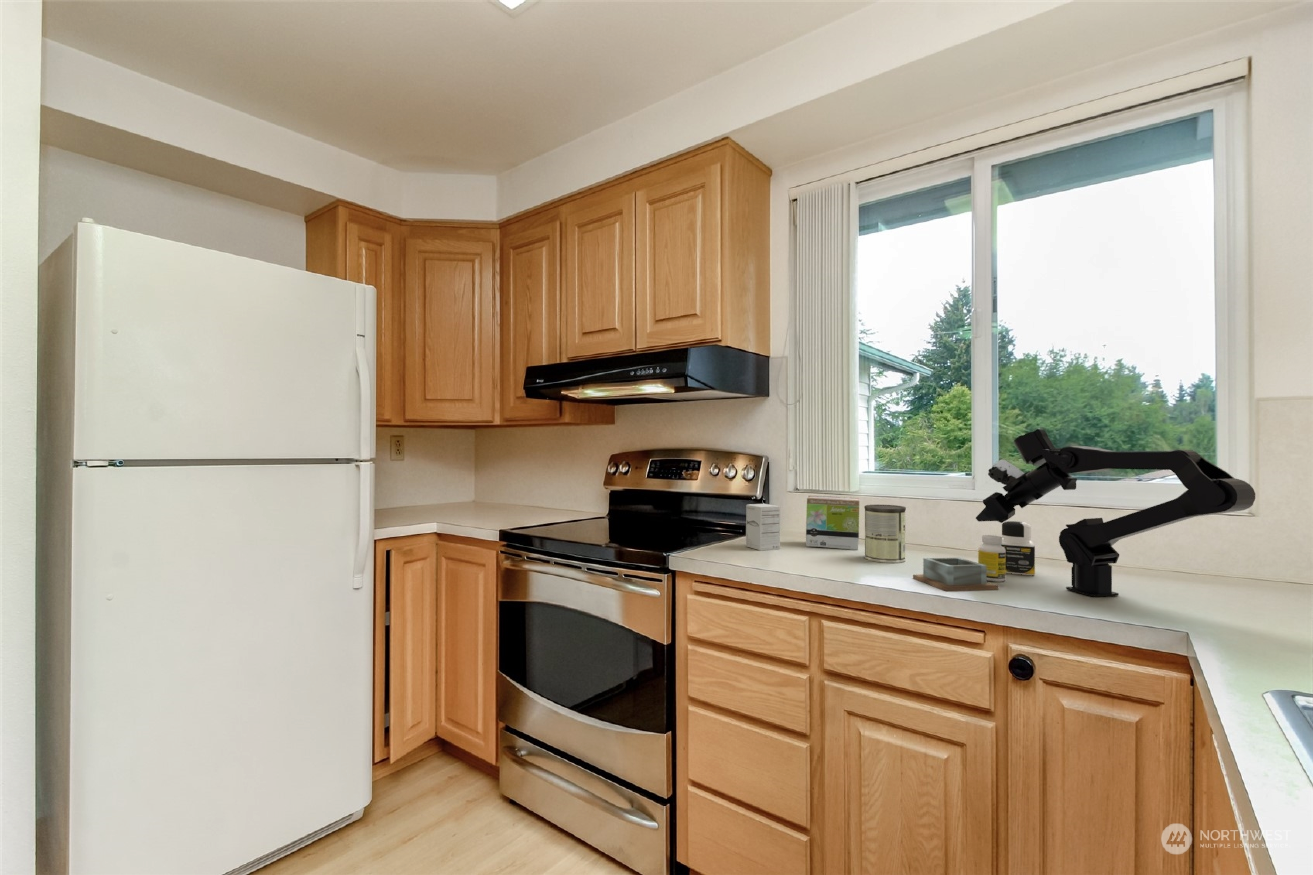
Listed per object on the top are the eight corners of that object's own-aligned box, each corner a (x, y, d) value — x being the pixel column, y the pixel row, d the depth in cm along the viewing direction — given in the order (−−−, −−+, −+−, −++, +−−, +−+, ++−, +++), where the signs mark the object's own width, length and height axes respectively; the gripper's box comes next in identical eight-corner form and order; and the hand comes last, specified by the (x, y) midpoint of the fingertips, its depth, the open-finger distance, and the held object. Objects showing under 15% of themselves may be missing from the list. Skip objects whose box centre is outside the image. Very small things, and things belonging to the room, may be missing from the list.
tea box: (805, 547, 176) (805, 497, 176) (807, 542, 185) (807, 494, 185) (859, 550, 171) (859, 499, 171) (858, 545, 181) (858, 496, 181)
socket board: (998, 589, 126) (998, 566, 126) (946, 591, 124) (946, 568, 124) (961, 576, 137) (961, 556, 137) (913, 578, 136) (913, 557, 136)
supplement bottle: (1001, 583, 131) (1001, 538, 132) (975, 579, 135) (975, 536, 135) (1008, 579, 135) (1008, 536, 135) (982, 575, 139) (982, 533, 139)
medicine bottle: (999, 572, 142) (999, 522, 143) (998, 567, 149) (998, 519, 149) (1035, 576, 139) (1035, 524, 139) (1032, 570, 145) (1032, 521, 146)
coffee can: (860, 555, 164) (860, 504, 164) (898, 556, 163) (899, 504, 163) (869, 562, 154) (870, 508, 154) (911, 563, 153) (911, 508, 153)
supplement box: (745, 546, 176) (745, 504, 176) (765, 545, 179) (766, 503, 179) (759, 551, 169) (759, 506, 169) (780, 549, 172) (781, 505, 172)
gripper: (1032, 442, 141) (982, 474, 153) (994, 465, 131) (944, 498, 143) (1067, 480, 138) (1013, 510, 150) (1030, 507, 127) (975, 537, 139)
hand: (986, 513), depth 146 cm, fingers open, 9 cm apart
